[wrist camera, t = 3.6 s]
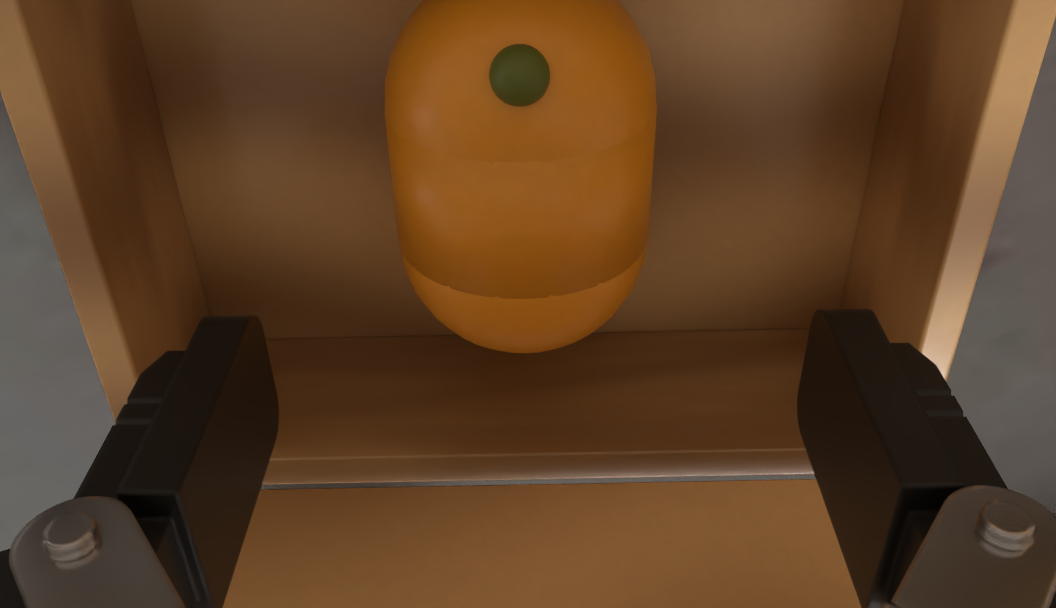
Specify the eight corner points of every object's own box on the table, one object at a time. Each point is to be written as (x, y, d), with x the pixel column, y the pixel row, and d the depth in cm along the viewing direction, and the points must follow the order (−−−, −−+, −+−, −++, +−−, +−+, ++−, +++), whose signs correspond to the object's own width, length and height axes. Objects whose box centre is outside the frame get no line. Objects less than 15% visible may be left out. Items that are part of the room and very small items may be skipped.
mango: (629, 265, 23) (656, 408, 19) (419, 269, 23) (397, 412, 19) (648, -75, 19) (688, 8, 15) (386, -70, 19) (347, 15, 14)
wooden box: (49, -229, 18) (-101, -191, 14) (979, -246, 18) (1127, -214, 14) (200, 345, 26) (136, 488, 21) (851, 333, 26) (920, 473, 21)
